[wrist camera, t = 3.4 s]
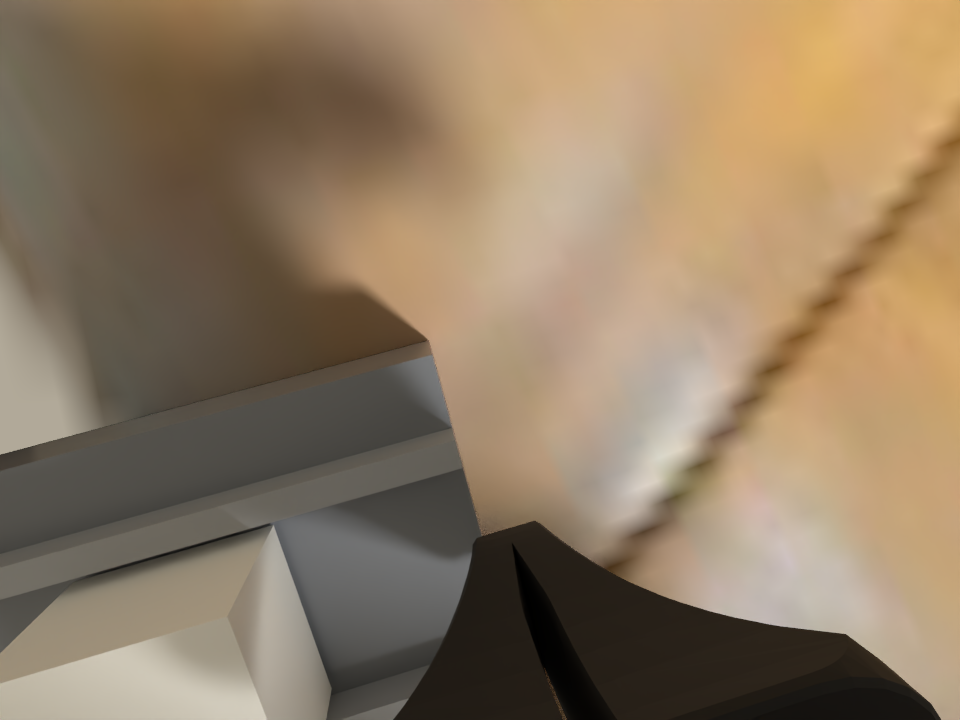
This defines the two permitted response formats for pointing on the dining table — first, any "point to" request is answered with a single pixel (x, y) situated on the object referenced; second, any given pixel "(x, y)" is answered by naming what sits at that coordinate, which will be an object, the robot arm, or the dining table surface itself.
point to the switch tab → (173, 643)
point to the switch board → (270, 511)
